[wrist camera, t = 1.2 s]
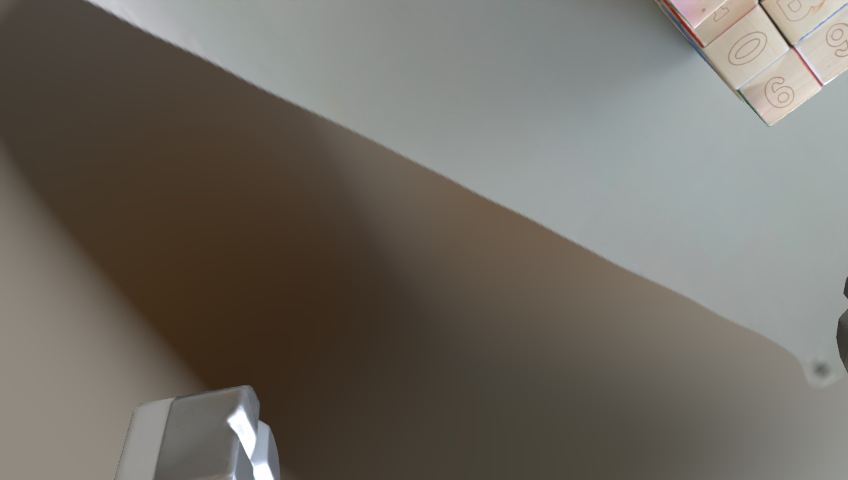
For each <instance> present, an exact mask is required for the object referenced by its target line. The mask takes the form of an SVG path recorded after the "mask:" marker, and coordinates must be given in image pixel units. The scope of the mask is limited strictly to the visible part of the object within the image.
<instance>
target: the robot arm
mask: <svg viewBox="0 0 848 480" xmlns="http://www.w3.org/2000/svg"><path fill="white" fill-rule="evenodd" d="M843 294H844V295H845V296H846V297H847V299H848V277H847V279H846V283H845V288H844V293H843ZM836 338H837V343H838V348H839V353H840V357H841V360H842V362H843V364H844V366H845V368H846V370H847V372H848V309H847V310H846V311H845V313H844V314H843V315H842V316H841V317H840V318H839V321H838V329H837V336H836ZM259 409H260V403H259V401H258V399H257V396H256V394H255V392H254V390H253V388H252V387H251V386H248V385H244V386H239V387H233V388H226V389H220V390H214V391H208V392H202V393H196V394H190V395H184V396H178V397H176V398H171V399H165V400H159V401H152V402H146V403H140V404H139V405H138V407H137V408H136V409H135V411H134V412H133V414H132V417H131V421H130V425H129V428H128V432H127V436H126V439H125V442H124V446H123V450H122V453H121V457H120V460H119V464H118V468H117V471H116V475H115V478H114V480H280V470H279V460H278V452H277V448H276V444H275V440H274V437H273V435H272V432H271V430H270V427H269V426H268V425H266V424H265V423H263V422H261V421H259Z"/></svg>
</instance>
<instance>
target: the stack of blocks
mask: <svg viewBox="0 0 848 480" xmlns="http://www.w3.org/2000/svg"><path fill="white" fill-rule="evenodd" d="M654 1H655V2H656V3H657V4H658V6H659V7H660V8H661V9H662V11H663V12H664V13H665V14H666V16H667V17H668V18H669V19H670V21H671V22H672V23H673V24H674V25H675V26H676V28H677V29H678V30H679V31H680V32H681V33H682V34H683V35H684V36H685V38H686V39H687V40H688V41H689V43H690V44H691V45H692V46H693V47H694V49H695V50H696V51H697V52H698V54H699V55H700V56H701V57H702V58H703V59H704V60H705V61H706V62H707V63H708V64H709V65H710V67H711V68H712V69H713V70H714V71H715V72H716V73H717V74H718V76H719V77H720V78H721V79H722V80H723V82H724V83H725V84H726V85H727V86H728V87H729V88H730V89H731V90H732V91H733V92H734V94H735V95H736V96H737V97H738V98H739V99H740V100H741V101H743V102H744V101H745V102H746V103H747V104H748V105H749V106H750V107H751V108H752V109H753V111H754V112H755V113H756V114H757V115H758V116H759V117H760V118H761V119H762V120H763V121H764V122H765V124H766V125H767V126H768V127H771V126H772V125H774V124H775V123H776V122H778V121H779V120H781V119H782V118H783V117H785V116H786V115H787V114H789V113H790V112H791V111H793V110H794V109H795V108H797V107H798V106H799V105H801V104H802V103H803V102H805V101H806V100H808V99H809V98H810V97H812V96H813V95H815V94H816V93H817V92H819V91H820V90H821V88H822V86H823V85H825V84H827V83H829V82H830V81H831V80H833V79H834V78H836V77H837V76H838V75H840V74H841V73H842V72H844V71H845V70H846V69H848V0H654Z"/></svg>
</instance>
